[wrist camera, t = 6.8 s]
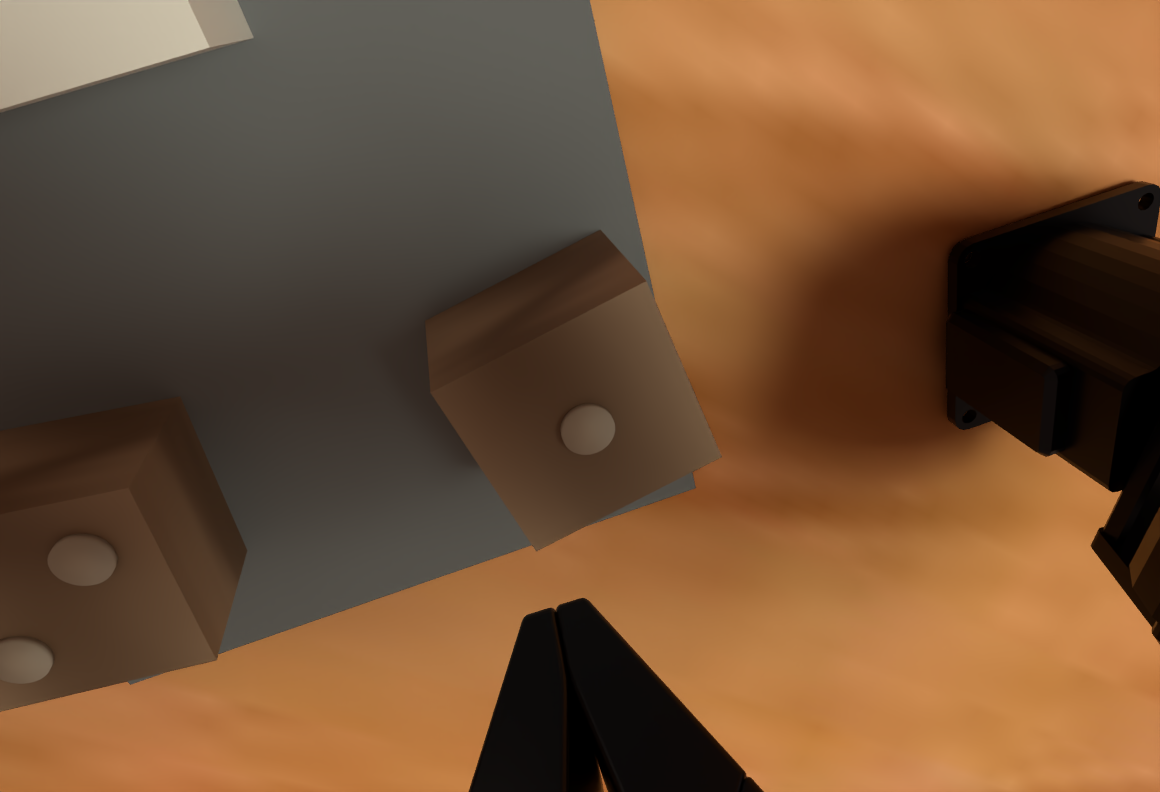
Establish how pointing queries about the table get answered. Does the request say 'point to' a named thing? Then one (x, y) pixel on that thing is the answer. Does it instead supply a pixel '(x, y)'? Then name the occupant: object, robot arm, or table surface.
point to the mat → (309, 266)
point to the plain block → (103, 41)
